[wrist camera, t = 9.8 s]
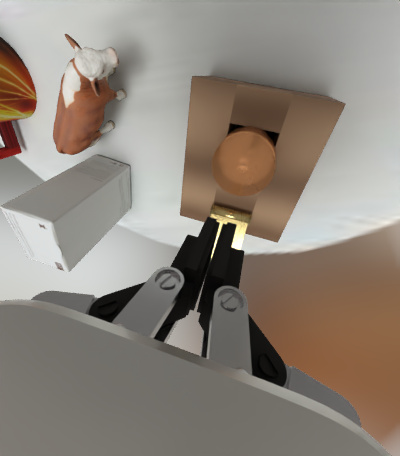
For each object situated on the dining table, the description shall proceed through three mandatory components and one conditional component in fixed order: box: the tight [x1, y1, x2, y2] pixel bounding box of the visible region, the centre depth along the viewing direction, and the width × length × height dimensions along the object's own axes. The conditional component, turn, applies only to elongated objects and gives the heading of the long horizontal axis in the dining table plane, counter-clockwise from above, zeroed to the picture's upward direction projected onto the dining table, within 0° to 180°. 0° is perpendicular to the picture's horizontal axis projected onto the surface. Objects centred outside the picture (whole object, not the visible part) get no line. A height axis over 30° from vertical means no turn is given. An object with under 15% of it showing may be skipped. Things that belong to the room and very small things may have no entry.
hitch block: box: [180, 76, 345, 242], centre depth 23 cm, size 14×12×6 cm
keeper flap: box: [210, 205, 252, 258], centre depth 23 cm, size 6×4×1 cm
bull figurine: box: [53, 34, 126, 155], centre depth 23 cm, size 4×13×8 cm, turn 137°
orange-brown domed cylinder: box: [212, 126, 276, 196], centre depth 21 cm, size 5×5×8 cm
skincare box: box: [0, 155, 131, 272], centre depth 28 cm, size 8×6×15 cm
